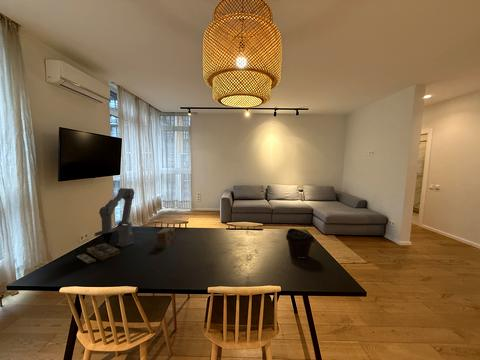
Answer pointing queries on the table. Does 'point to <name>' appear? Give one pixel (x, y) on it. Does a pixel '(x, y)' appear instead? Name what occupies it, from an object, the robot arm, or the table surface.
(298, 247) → the black bin
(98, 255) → the wooden tray
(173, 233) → the stack of blocks
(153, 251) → the table surface
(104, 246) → the button
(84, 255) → the pattern card
